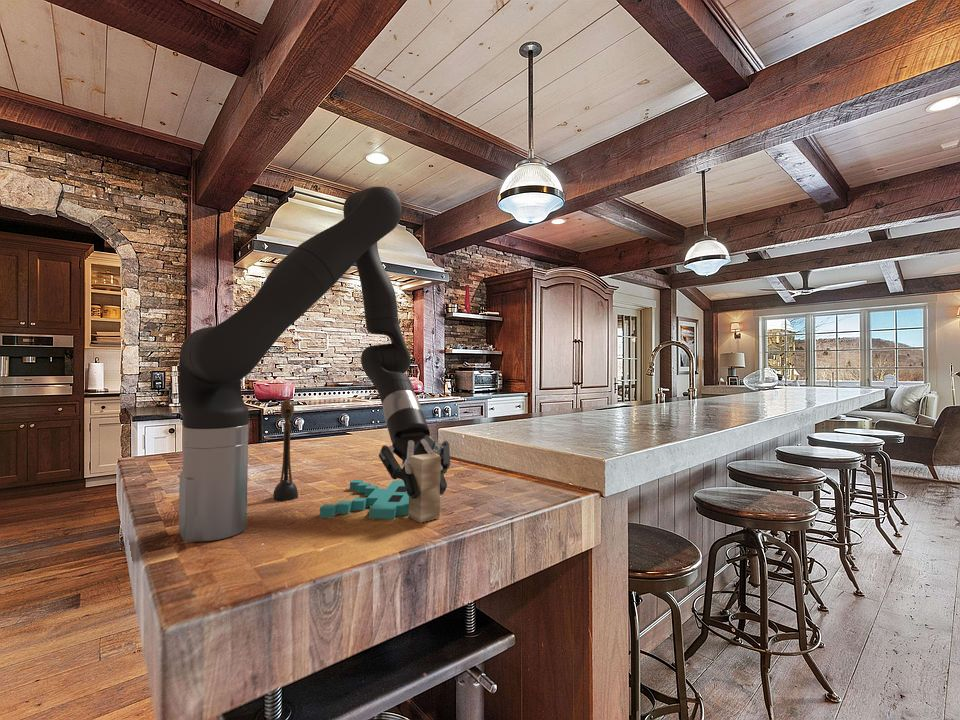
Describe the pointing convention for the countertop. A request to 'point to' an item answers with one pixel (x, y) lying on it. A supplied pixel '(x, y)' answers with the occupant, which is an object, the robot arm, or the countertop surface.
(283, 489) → the wooden tabletop sculpture
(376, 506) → the teal pixel invader
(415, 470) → the tall wooden block
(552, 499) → the countertop surface
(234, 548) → the countertop surface
